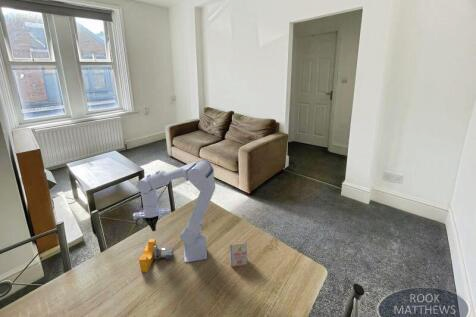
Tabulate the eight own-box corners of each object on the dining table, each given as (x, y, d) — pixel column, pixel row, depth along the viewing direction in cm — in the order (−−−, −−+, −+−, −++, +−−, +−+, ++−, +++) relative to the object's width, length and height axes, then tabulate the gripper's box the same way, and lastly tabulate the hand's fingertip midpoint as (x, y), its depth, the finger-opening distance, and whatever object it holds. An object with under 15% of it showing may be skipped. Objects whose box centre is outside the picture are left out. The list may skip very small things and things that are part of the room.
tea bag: (229, 260, 102) (229, 241, 98) (245, 258, 103) (245, 239, 99) (231, 266, 98) (230, 247, 95) (247, 264, 99) (247, 245, 96)
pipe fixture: (172, 250, 107) (171, 239, 105) (172, 260, 101) (170, 248, 99) (155, 252, 105) (154, 241, 103) (155, 263, 100) (153, 251, 98)
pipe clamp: (147, 250, 107) (145, 238, 104) (157, 250, 107) (155, 238, 104) (136, 272, 96) (134, 259, 93) (147, 272, 96) (145, 259, 93)
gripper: (168, 196, 106) (171, 222, 111) (133, 200, 102) (137, 226, 107) (167, 204, 99) (170, 231, 104) (130, 209, 96) (135, 236, 101)
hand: (154, 229), depth 105 cm, fingers closed
